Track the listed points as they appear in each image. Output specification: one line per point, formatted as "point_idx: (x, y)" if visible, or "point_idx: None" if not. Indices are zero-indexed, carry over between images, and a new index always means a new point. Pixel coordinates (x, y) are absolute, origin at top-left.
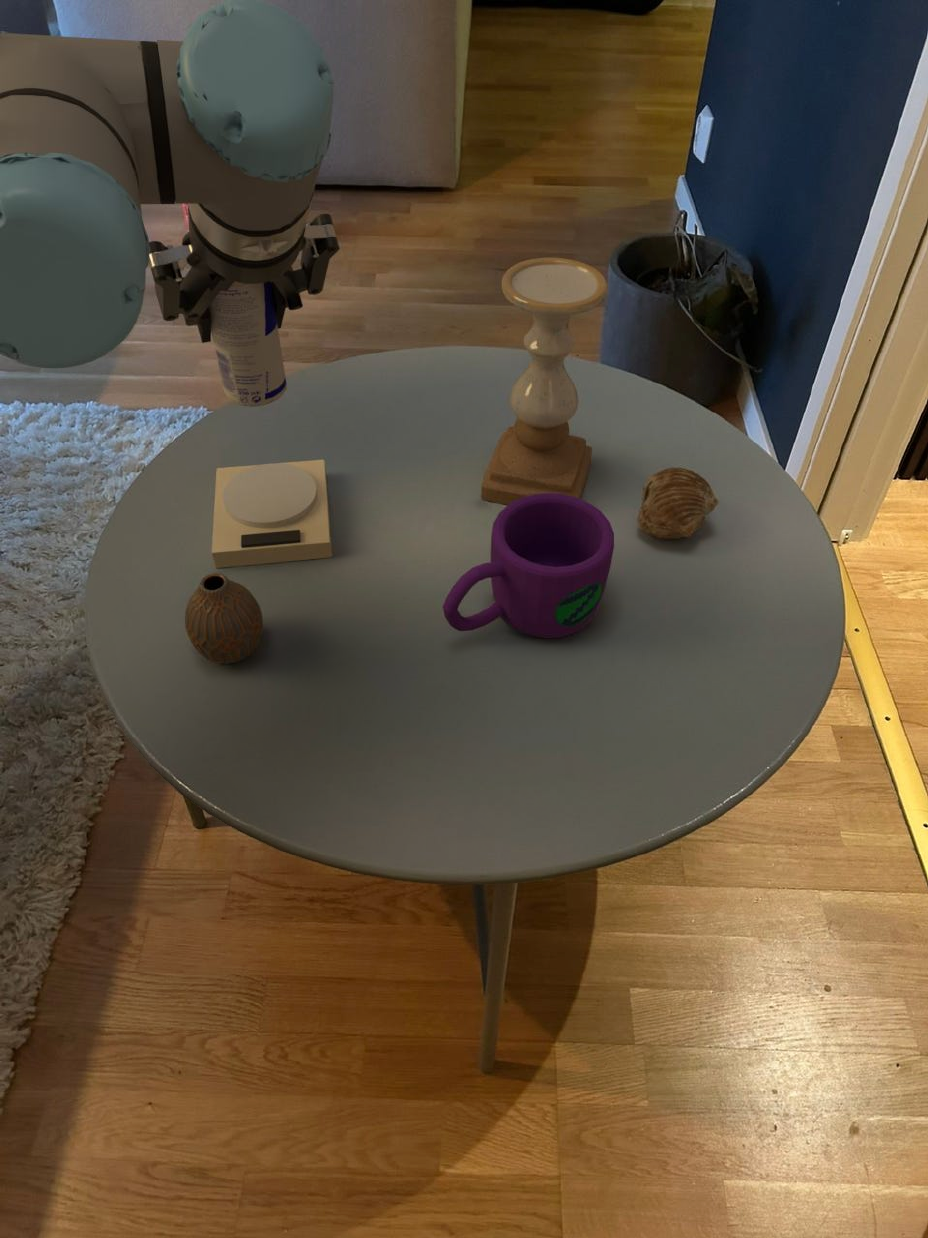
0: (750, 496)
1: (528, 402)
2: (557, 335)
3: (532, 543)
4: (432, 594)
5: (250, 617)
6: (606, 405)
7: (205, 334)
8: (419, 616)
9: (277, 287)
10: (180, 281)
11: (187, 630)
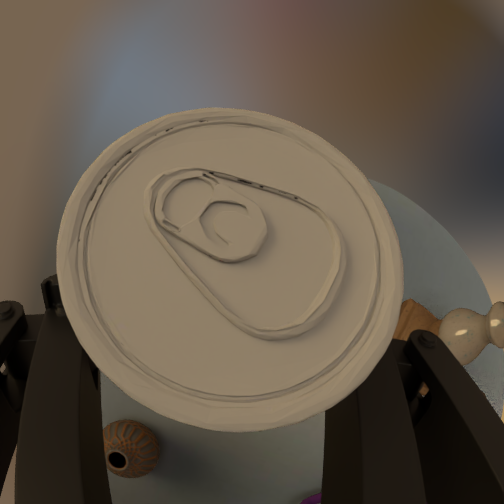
0: (492, 397)
1: (456, 351)
2: None
3: None
4: (300, 450)
5: (146, 473)
6: (464, 286)
7: None
8: (282, 468)
9: (322, 487)
10: (53, 294)
11: None
